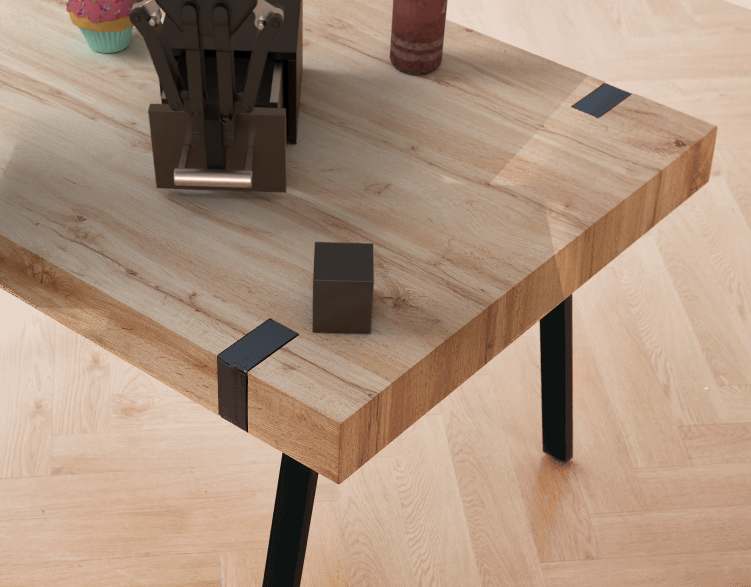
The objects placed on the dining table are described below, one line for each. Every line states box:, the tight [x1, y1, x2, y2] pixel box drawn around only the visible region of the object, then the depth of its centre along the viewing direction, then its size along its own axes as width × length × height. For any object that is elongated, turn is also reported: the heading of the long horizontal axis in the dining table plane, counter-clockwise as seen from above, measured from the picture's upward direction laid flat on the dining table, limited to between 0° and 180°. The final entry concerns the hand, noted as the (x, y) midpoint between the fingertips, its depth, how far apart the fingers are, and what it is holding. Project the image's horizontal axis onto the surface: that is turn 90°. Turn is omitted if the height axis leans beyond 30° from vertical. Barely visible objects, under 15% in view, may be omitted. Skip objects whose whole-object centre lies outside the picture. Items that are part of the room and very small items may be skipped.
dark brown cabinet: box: [158, 0, 304, 145], centre depth 115 cm, size 16×14×11 cm
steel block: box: [311, 241, 375, 335], centre depth 92 cm, size 5×5×6 cm
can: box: [389, 0, 448, 76], centre depth 122 cm, size 6×6×14 cm
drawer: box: [147, 56, 288, 193], centre depth 105 cm, size 20×13×9 cm, turn 1°
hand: (217, 171), depth 100 cm, fingers closed
